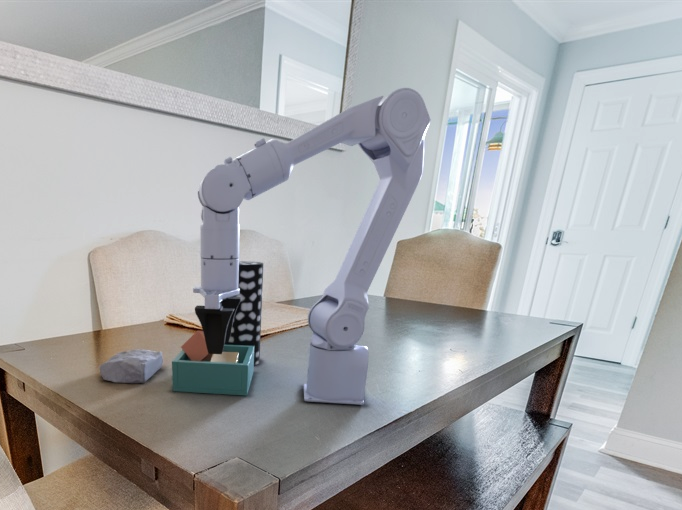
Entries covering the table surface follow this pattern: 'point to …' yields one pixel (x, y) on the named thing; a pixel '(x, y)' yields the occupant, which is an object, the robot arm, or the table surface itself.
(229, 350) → the teal storage bin
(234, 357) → the maple block
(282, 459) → the table surface
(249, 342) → the spotted tube
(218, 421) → the table surface
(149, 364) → the stone block
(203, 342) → the coral block
